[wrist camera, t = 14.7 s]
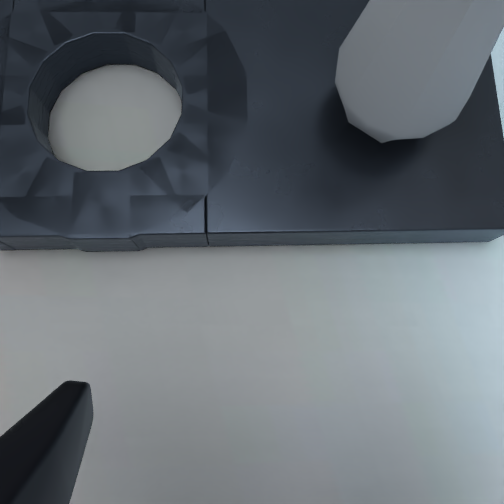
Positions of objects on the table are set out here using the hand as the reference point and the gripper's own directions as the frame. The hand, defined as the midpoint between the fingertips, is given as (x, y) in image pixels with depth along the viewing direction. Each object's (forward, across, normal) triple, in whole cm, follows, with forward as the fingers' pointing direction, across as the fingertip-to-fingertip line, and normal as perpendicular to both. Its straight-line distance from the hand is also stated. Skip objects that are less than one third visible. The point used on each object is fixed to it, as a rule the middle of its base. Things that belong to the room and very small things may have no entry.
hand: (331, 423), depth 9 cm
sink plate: (+19, +3, 0) cm, 19 cm away
